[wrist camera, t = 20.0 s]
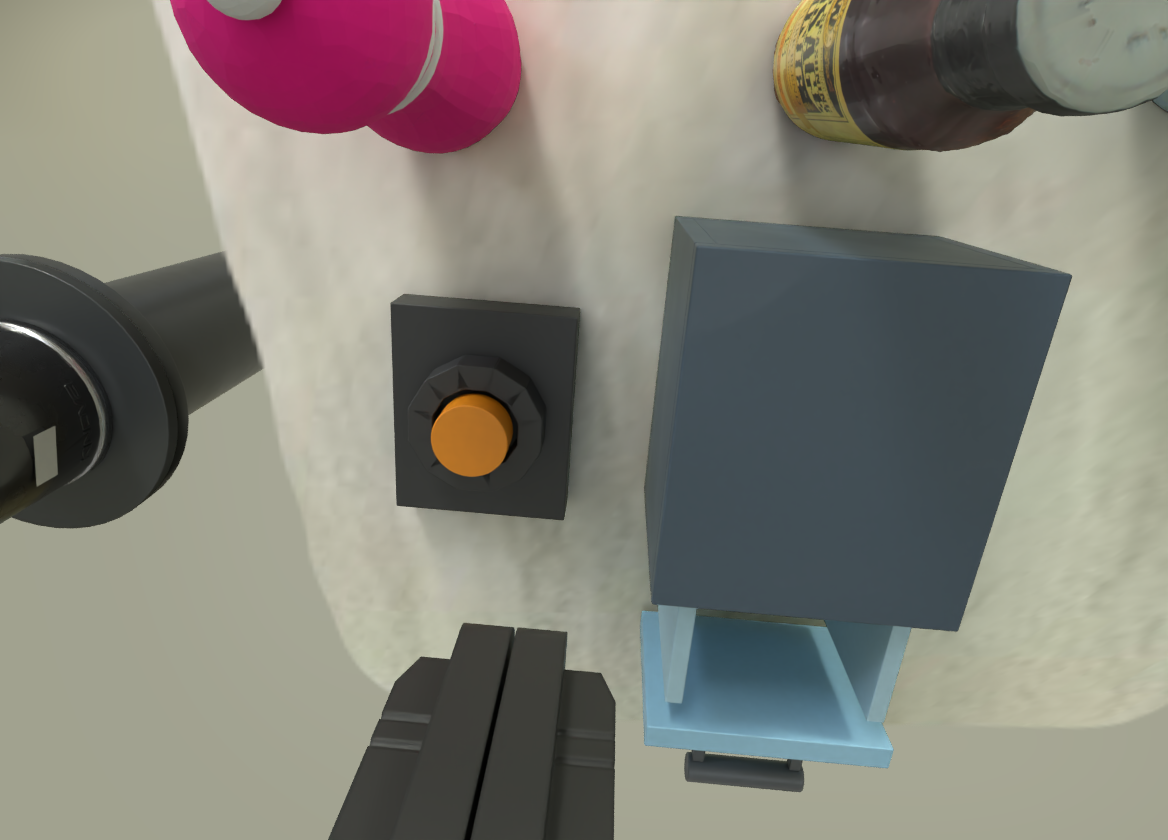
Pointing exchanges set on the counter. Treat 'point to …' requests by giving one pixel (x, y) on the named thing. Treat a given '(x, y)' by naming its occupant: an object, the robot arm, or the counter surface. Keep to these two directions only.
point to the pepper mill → (363, 64)
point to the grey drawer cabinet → (837, 418)
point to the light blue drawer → (767, 694)
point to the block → (496, 369)
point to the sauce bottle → (963, 66)
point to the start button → (472, 435)
